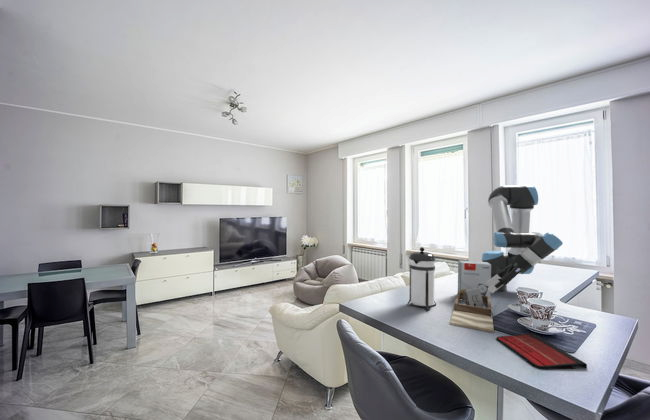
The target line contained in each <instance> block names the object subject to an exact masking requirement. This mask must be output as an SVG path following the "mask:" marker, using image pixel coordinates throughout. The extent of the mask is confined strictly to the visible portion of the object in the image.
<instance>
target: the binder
mask: <svg viewBox="0 0 650 420" xmlns="http://www.w3.org/2000/svg"><path fill="white" fill-rule="evenodd" d="M495 338H496V339H495V340H496V341H497V342H499V343H500V344H503V345H504V346H506V347H507V348H508V349H510V350H511V351H513V352H514V353H516V354H517V355H519V356H520V357H521V358H523V359H524V360H525V361H526V362H527V363H528V364H529V365H531V367H534V368H535V369H541V370H576V369H577V370H578V368H576V367H573V366H580V367H582V368H584V369H587V368H588V365H587V363H586V362H584V361H583V360H581V359H579V358H577V356H576V357H575V356H573V355H571V354H570V353H568V352H566V351H565V350H563V349H561V348H560V347H558V346H557V345H555V344H552V343H551V342H549V341H548V340H545V339H543V338H542V337H540V336H539V335H536V334H535V332H532V333H523V334H511V335H501V336H499V335H498V336H496V337H495Z"/></svg>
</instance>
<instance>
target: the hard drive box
mask: <svg viewBox="0 0 650 420" xmlns="http://www.w3.org/2000/svg"><path fill="white" fill-rule="evenodd" d="M457 261H458V262H457V265H458V267H457V293H458V292H459V293H463V292H464V291H466V290H470V289H476V288H479V289H480V293H481V296H488V297H490V298H491V292H490V291H489V290H488V289H487V288H489V287H490V285H489V284H488V283H487V281H489V280H490V279H491V264H489V263H488V262H482V261H476V260H460V259H459V260H457Z"/></svg>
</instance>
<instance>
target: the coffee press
mask: <svg viewBox="0 0 650 420" xmlns="http://www.w3.org/2000/svg"><path fill="white" fill-rule="evenodd" d="M408 259H409V264H408V267H409V300H408V301H407V303H406V305H407V306H408V307H411V306H413V305H416V306H420V307H424V309H425V311H430V306H434V307H436V306H437V302H435V278H436V277H435V270H436V266H435V262H436V257H435V255H434V254H433V253H430V252H426V251H425V248H424V247H420V248H419V251H414V252H413V251H412V252H411V254H410V255H409V256H408Z"/></svg>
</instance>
